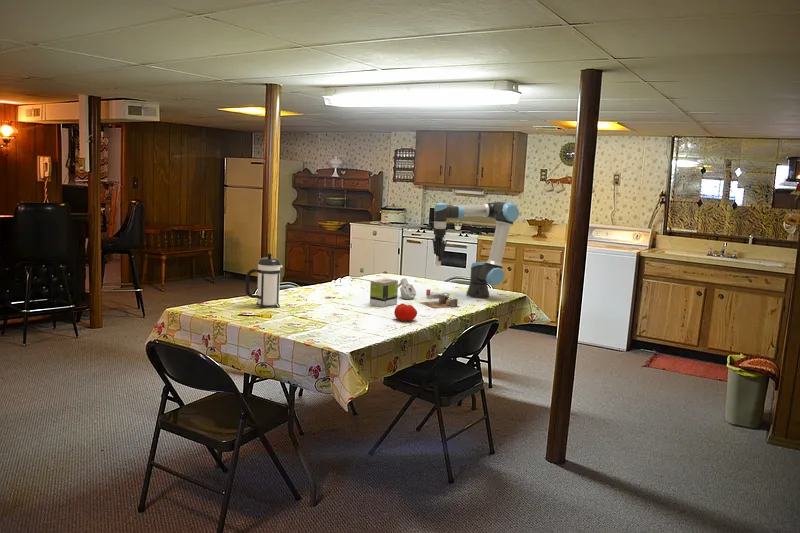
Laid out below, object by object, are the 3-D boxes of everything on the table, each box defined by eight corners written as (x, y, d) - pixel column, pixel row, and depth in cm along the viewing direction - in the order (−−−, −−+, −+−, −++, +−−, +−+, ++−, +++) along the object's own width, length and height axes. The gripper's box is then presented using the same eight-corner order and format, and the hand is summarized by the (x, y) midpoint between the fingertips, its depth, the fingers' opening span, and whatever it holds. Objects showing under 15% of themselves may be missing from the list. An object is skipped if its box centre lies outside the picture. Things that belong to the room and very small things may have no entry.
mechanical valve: (407, 296, 392) (399, 276, 398) (390, 310, 403) (383, 290, 409) (419, 296, 399) (410, 276, 405) (402, 310, 410) (394, 290, 416)
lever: (446, 301, 389) (447, 287, 388) (451, 302, 385) (452, 289, 383) (423, 302, 380) (424, 289, 378) (428, 304, 375) (429, 290, 374)
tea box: (384, 301, 386) (385, 277, 384) (397, 304, 381) (398, 280, 379) (369, 304, 374) (370, 280, 372) (382, 307, 369) (383, 282, 367)
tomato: (419, 322, 335) (420, 307, 334) (397, 323, 332) (398, 307, 330) (412, 317, 347) (413, 302, 346) (390, 317, 344) (391, 302, 342)
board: (444, 302, 394) (445, 294, 393) (461, 308, 378) (462, 299, 377) (417, 304, 384) (418, 295, 383) (433, 310, 368) (434, 301, 367)
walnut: (449, 304, 382) (450, 298, 382) (453, 306, 379) (454, 299, 378) (444, 305, 380) (444, 298, 380) (448, 306, 377) (448, 299, 376)
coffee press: (264, 302, 364) (265, 250, 360) (286, 305, 357) (288, 253, 353) (244, 306, 348) (245, 253, 344) (267, 310, 342) (269, 256, 337)
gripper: (429, 227, 390) (427, 264, 394) (440, 229, 379) (439, 267, 383) (439, 227, 394) (437, 264, 398) (451, 229, 383) (449, 267, 387)
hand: (438, 266), depth 390 cm, fingers closed
